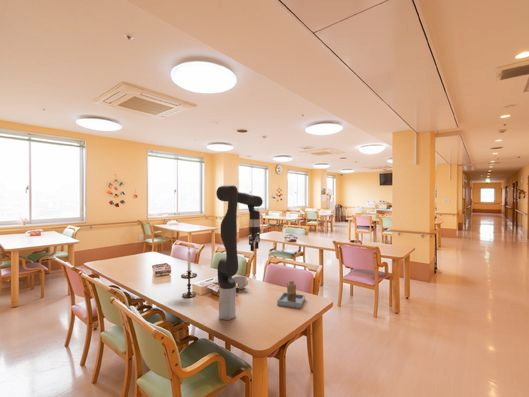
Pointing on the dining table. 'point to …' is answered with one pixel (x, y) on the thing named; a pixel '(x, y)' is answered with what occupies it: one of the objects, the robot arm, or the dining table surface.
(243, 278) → the teacup
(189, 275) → the candlestick
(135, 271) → the dining table surface
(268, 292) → the dining table surface
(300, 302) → the candle dish
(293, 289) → the wick block
